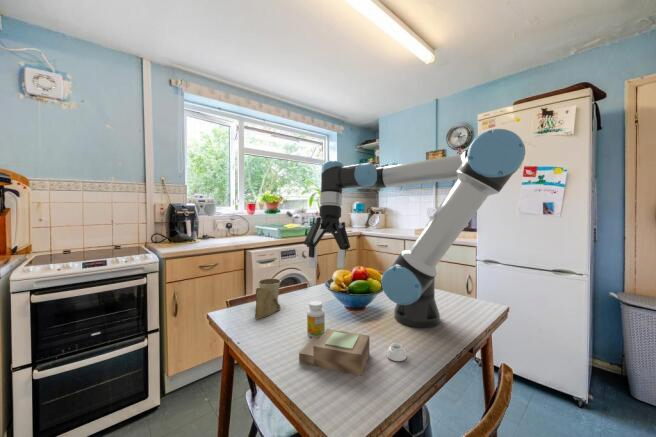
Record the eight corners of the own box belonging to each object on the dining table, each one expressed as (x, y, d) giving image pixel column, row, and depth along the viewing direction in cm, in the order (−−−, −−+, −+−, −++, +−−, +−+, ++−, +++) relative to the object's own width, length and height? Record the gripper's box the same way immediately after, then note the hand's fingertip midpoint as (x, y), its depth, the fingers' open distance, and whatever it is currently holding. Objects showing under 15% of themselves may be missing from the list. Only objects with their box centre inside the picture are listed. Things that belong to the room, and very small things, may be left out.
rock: (278, 299, 110) (253, 299, 106) (283, 286, 105) (256, 285, 101) (280, 324, 101) (253, 325, 98) (285, 311, 97) (256, 311, 93)
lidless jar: (384, 359, 71) (404, 364, 69) (384, 348, 71) (404, 353, 69) (389, 350, 75) (407, 354, 73) (389, 340, 75) (407, 344, 73)
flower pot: (286, 300, 115) (285, 280, 115) (270, 307, 107) (269, 285, 107) (269, 296, 120) (269, 277, 120) (253, 303, 112) (253, 282, 112)
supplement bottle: (305, 331, 87) (304, 301, 86) (321, 328, 89) (321, 299, 88) (310, 339, 82) (309, 307, 81) (327, 336, 84) (326, 304, 83)
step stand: (369, 353, 73) (369, 334, 73) (360, 375, 64) (360, 353, 64) (314, 343, 79) (314, 325, 79) (299, 362, 70) (298, 342, 69)
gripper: (345, 212, 106) (343, 267, 104) (295, 200, 89) (291, 267, 86) (361, 210, 101) (358, 268, 98) (311, 198, 84) (307, 268, 81)
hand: (327, 268), depth 92 cm, fingers open, 13 cm apart
